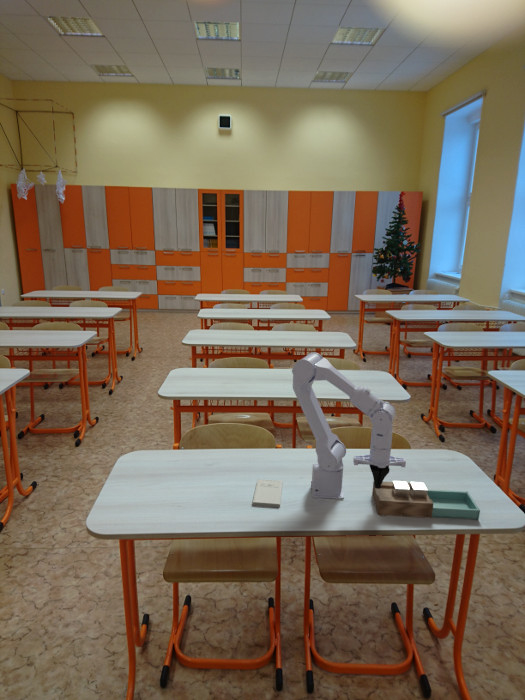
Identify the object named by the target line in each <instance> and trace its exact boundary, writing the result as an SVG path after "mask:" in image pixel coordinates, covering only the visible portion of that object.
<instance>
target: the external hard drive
mask: <svg viewBox="0 0 525 700" xmlns="http://www.w3.org/2000/svg"><path fill="white" fill-rule="evenodd" d="M283 485H284V481H283V480H273V479H257V482H256V486H255V490H254V496H253V500H252V506H262V507H272V508H273V507H274V508H281V504H282V503H281V502H282V494H283Z"/></svg>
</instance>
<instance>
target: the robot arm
mask: <svg viewBox="0 0 525 700" xmlns="http://www.w3.org/2000/svg"><path fill="white" fill-rule="evenodd" d="M291 373H292V390H293V392H294V395H295V396H296V397H295V398H296V400H297V401H298V403H299V405H300V408H301V411H302V412H303V414H304V416H305V419H306V421H307V423H308V426H309V429H310V430H311V432H312V434H313V436H314V438H315V452H316V456H317V460H316V461H317V463H314V464H312V473H311V481H310V487H311V491H312V493H311V494H312V495H311V496H312V497H313V498H317V499H319V498H321V499H338V500H344V498H345V495H344V490H343V477H344V475H343V473H344V463H343V458H344V457H345V456H346V455H347V448H346V446H345V444H344V443H343V442H342V441H341V440H340V438H339V437H338V435H337V434H335V433H333V432H332V429H331V428H330V425H329V423H328V421H327V418H326V416H325V414H324V412H323V409H322V408H321V405H320V403H319V400H318V398H317V396H316V394H315V391H314V389H313V384H314V382H315V381H327V382H329V384H331V385H332V386H334V387H336V388H337V389H338V390H340V391H341V392H342V393H344V394H346V395H347V396H348V397H349V402H350V404H352V405H353V406H355V408H357V409H358V410H359V411H361V412H362V413H363V414H365V415H366V416H367V417H368V418H369V419H370V422H371V424H372V426H371V427H372V428H371V435H370V436H371V437H370V444H369V445H370V447H369V454H364V455H353V465H354V466H358V465H368V466H369V469H370V472H371V473H372V477H373V481H374V486H375V488H376V489H380V487H381V484H382V482H384V479H385V478H386V477H387V475H388V474H389V473H390V470H391V469H390V466H391V467H400V468H406V462H407V461H406V459H405V457H397V456H393V455H391V451H392V444H393V443H392V442H393V433H394V432H393V427H394V426H393V425H394V422H393V421H394V420H395V417H396V415H397V414H396V413H397V412H396V409H395V407H394V405H392V403H391V402H388V401H384V400H383V399H380V398H378V397H377V396H376V395H374V394H373V393H372V392H371V389H370V388H369V387H367V388H365V387H364V386H356V385H355V384H354V383H353V382H351V381H350V380H349V379H348V378H347V377H346V376H345V375H344V374H342V373H341V372H340V371H339V370H338V369H337V368H335V367H334V366H333V365H332V363H331V362H330V360H329V359H327V358H325V357H323V356H322V355H321V354H320V353H318V352H315V351H314V352H310V353H308V354H307V355H306V356H304V357H302V358H301V359H299V360H297V361H296V362H295V364H294V366H293V367H292V369H291Z"/></svg>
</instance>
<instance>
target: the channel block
mask: <svg viewBox="0 0 525 700" xmlns="http://www.w3.org/2000/svg"><path fill="white" fill-rule="evenodd" d="M372 484H373V485H372V492H371V493H372V498H373V501H374V506H375V508H376V513H377V515H378V516H391V517H394V516H395V517H407V516H408V517H407V518H410V517H411V518H425V517H427V518H428V517H430V518H428V519H431V518H433V517H432V510H433V502H432V500H431V499H430V498H429V496H428V494H427V499H415V498H412V496H411V494H410V493H409V498H396V497H394V494H393V491H392V484H393V481H383V482H382V484H381V487H380V489H376V488H375V486H374V480H373V481H372ZM407 484H408V486H410V482H407Z"/></svg>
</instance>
